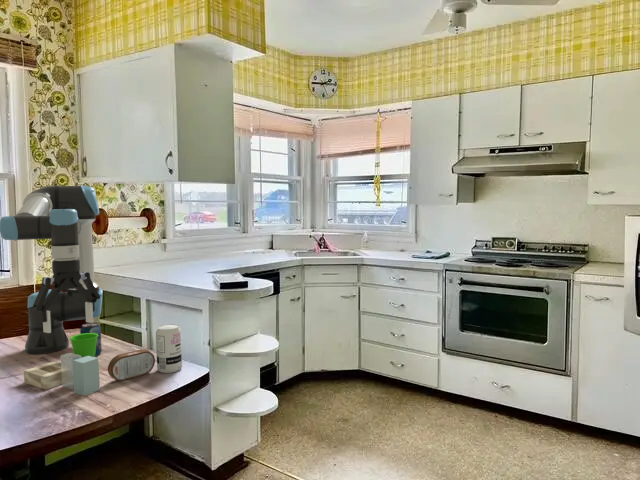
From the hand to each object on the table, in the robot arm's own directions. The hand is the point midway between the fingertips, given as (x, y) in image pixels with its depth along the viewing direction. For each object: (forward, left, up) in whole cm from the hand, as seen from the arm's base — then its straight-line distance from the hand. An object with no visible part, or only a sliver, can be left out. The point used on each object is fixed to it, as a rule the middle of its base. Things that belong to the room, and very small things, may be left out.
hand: (69, 327), depth 144 cm
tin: (-15, +10, -19) cm, 26 cm away
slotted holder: (0, -11, -19) cm, 22 cm away
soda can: (-22, -23, -19) cm, 37 cm away
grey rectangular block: (0, 0, -19) cm, 19 cm away
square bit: (0, +7, -19) cm, 20 cm away
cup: (-13, -13, -19) cm, 27 cm away
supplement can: (-26, +15, -19) cm, 35 cm away
